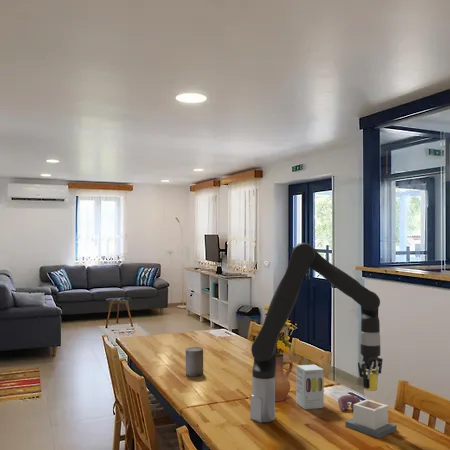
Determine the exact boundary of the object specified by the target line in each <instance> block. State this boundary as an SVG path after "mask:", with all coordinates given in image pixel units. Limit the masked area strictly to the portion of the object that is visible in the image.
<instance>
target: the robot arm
mask: <svg viewBox="0 0 450 450" xmlns="http://www.w3.org/2000/svg"><path fill="white" fill-rule="evenodd" d="M290 255H291V256H290V259H289V262H288V264H287V268H286V271H285V273H284V275H283V277H282V278H281V280H280V282H279V284H278V285H277V287H276V290H275V292H274V294H273V296H272V298H271V301H270V304H269V305H268V306H269V307H268V309H267V312H266V315H265V318H264V321H263V324H262V327H261V328H260V330H259V332H258V334H257V336H256V337H255V339H254V341H253V342H252V345H251V355H252V357H253V364H252V365H253V367H252V375H251V376H252V379H251V380H252V382H251V383H252V384H251V385H252V391H251V393H252V394H251V395H250V417H249V418H250V419H251V420H253V421H256V422H258V423H260V424H262V423H271V422H273V421H275V418H276V417H275V416H276V415H275V414H276V413H275V410H276V406H275V405H276V401H275V399H276V397H275V396H276V390H275V389H276V387H275V386H276V367H277V364H276V363H277V346H276V343H277V341H278V338H279V335H280V333H281V331H282V329H283V328H284V326H285V324H286V323H287V321H288V319H289V317H290V316H291V314H292V312H293V309H294V307H295V305H296V302H297V299H298V298H299V293H300V291H301V286H302V283H303V279H304V277H305V275H306V274H307V272H308V270H309V269H310V270H312V271H315V272H316V273H317V274H319V275H320V276H321V277H323V278H324V279H326V281H328V283H330V284H331V285H332V286H333V287H335V288H336V289H337V290H338V291H340V292H342V293H343V294H345V295H346V296H348V297H350V298H351V299H352V300H353V301H354V302H356V303H357V305H359V306H360V314H361V319H360V339H359V340H360V342H359V343H360V345H359V347H360V351H359V352H360V355H361V356H362V361H361V362H357V367H358V374H359V377H360V378H363V379H362V380H363V389H364V388H367V389H368V388H370V384H369V377H370V373H372V372H375V373H377V384H378V377H379V374H380V375H381V374H382V368H383V360H384V359H383V358H382V357H380V356H381V331H380V330H381V329H380V328H381V327H380V326H381V325H380V323H381V322H380V317H379V308H380V305H381V299H380V297H379V295H377V293H375V292H374V291H372V290H369V289H368V288H366V287H365V286H364V285H362V284H361V283H360V282H359V281H358V280H357V279H355V278H353V277H352V276H351V275H349V274H348V273H346V272H345V271H344V270H342V269H340V268H338V266H336V265H334V264H332V263H331V262H329V261H328V260H327V259H326V258H324V257H323V256H322V255H321V254H320V253H319V252H318V251H317V250H316V249H315V248H314V247H313V246H312V244H310V243H307V242H302V243H297V244H296V245H295V246H294V247H293V249H292V251H291V254H290ZM366 372H367V374H366Z"/></svg>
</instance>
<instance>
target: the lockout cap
mask: <svg viewBox="0 0 450 450" xmlns="http://www.w3.org/2000/svg"><path fill="white" fill-rule="evenodd" d="M366 374H367V372H366ZM377 377H378V376H377V373H375V372H372V373H370V377H369V384H370V388H368V389H367V388H364V387H363V390H366V391H369V392H376V391H378V383H377Z"/></svg>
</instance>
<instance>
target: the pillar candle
mask: <svg viewBox="0 0 450 450" xmlns="http://www.w3.org/2000/svg"><path fill="white" fill-rule="evenodd" d="M186 374H187V375H186ZM202 374H203V375H204V348H203V347H199V346H190V347H187V348H185V375H186V376H188V375H190V376H189V377H199V376H198V375H200V376H203V375H202Z"/></svg>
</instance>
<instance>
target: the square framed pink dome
mask: <svg viewBox="0 0 450 450" xmlns="http://www.w3.org/2000/svg"><path fill="white" fill-rule="evenodd" d="M368 407H373V408H375V409H371V408H368ZM352 411H353V413H352V414H353V415H352V416H353V417H352V418H350V419H348V420H347V419H346V420H345V423H344V424H345V427H347V428H349V429H352V430H355V431H358V432H361V433H364V434H366V435H368V436H371V437H374V438H377V439H382V438H383V437H386V436H388V435H389V434H391V433H394V432H396V431H397V428H398V427H397V424H394V423H391V422H389V405H388V404H384V403H381V402H377V401H375V400H370V399H364V400H362V401H361V400H360V402H358V403H356V404H353V409H352Z"/></svg>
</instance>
